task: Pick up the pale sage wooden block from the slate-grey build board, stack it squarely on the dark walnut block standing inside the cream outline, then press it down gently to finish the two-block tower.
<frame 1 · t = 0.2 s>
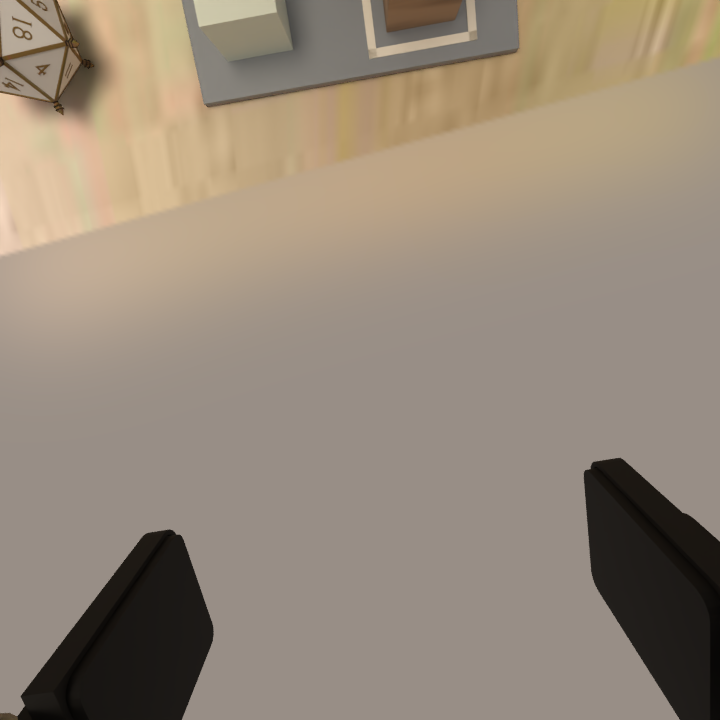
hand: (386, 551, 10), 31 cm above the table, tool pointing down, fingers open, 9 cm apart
sage block: (253, 17, 34), point 1 cm above the table, touching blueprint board
game die: (57, 61, 36), on the table
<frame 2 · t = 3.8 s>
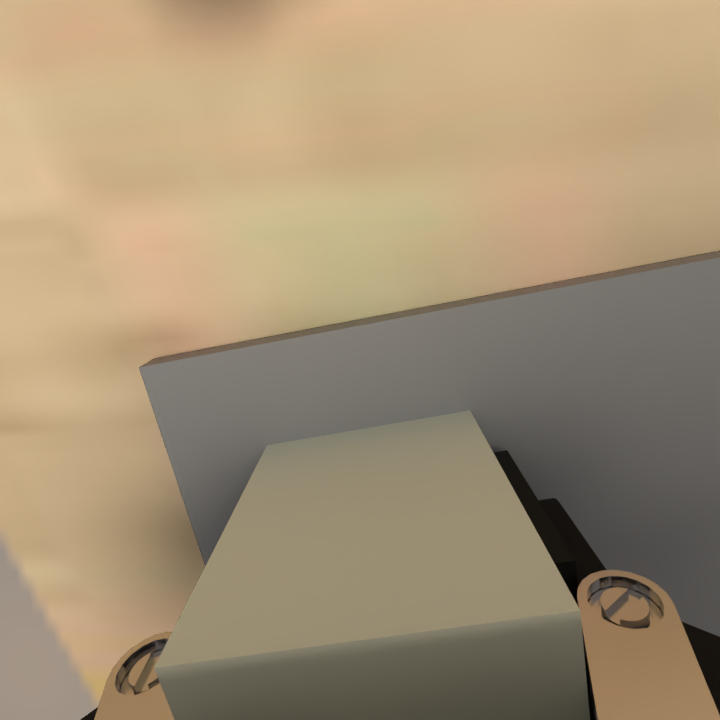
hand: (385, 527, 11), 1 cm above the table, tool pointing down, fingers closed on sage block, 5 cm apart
sage block: (385, 517, 12), point 1 cm above the table, touching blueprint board, gripper
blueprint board: (489, 687, 14), on the table
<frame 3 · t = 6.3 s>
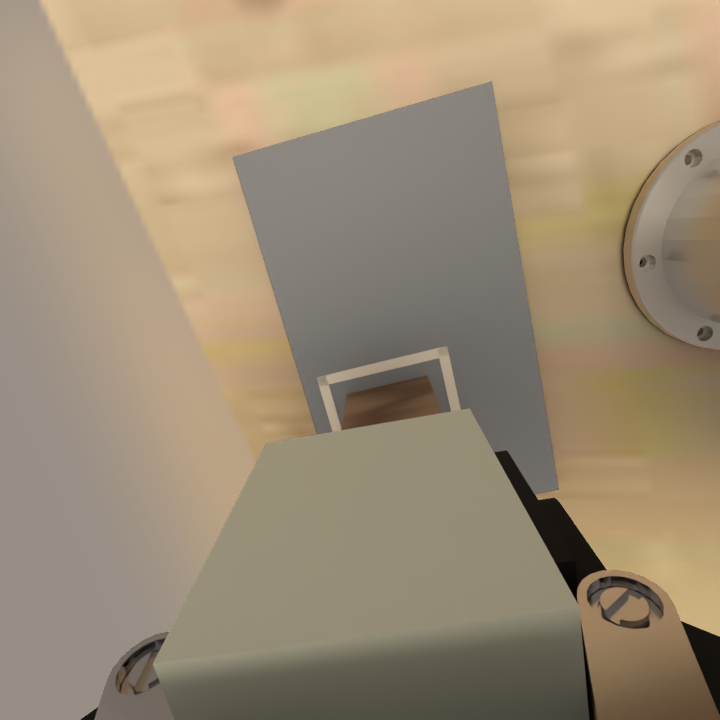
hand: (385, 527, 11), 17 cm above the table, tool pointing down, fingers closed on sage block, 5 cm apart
sage block: (384, 515, 12), point 17 cm above the table, touching gripper
walnut block: (396, 422, 28), point 1 cm above the table, touching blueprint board
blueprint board: (408, 334, 28), on the table
when the fingers open (8 cm above the table, at t = 8.7 s): sage block drops 1 cm, resting on walnut block.
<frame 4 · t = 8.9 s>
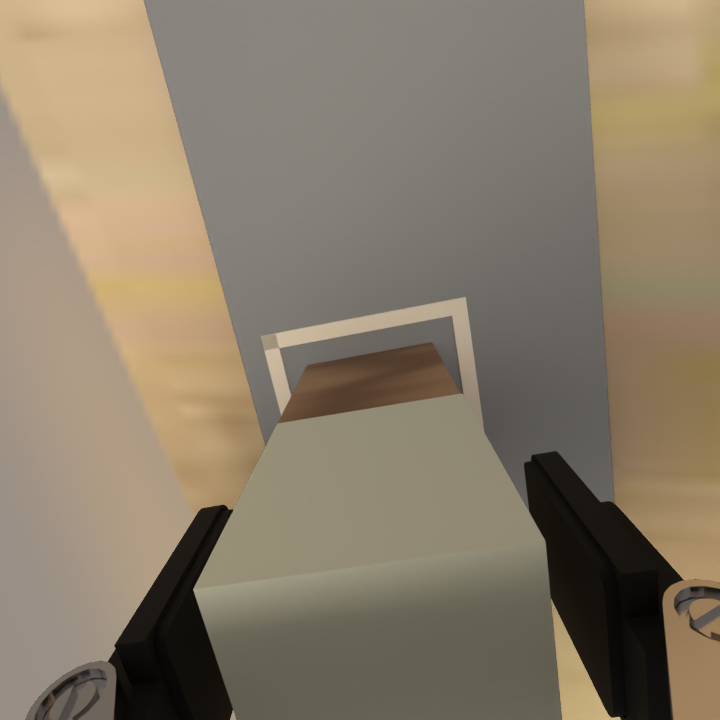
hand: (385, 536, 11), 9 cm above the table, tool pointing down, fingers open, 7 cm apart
sage block: (384, 491, 13), point 7 cm above the table, touching walnut block
walnut block: (380, 412, 19), point 1 cm above the table, touching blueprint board, sage block
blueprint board: (406, 278, 18), on the table
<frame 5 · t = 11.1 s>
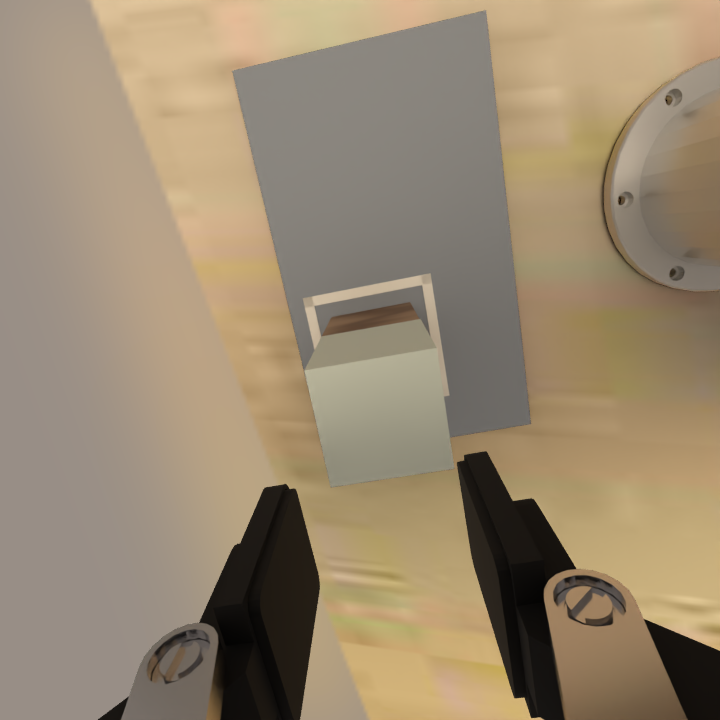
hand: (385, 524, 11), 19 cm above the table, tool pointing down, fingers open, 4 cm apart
sage block: (379, 374, 23), point 7 cm above the table, touching walnut block
walnut block: (377, 347, 29), point 1 cm above the table, touching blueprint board, sage block
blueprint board: (394, 262, 29), on the table
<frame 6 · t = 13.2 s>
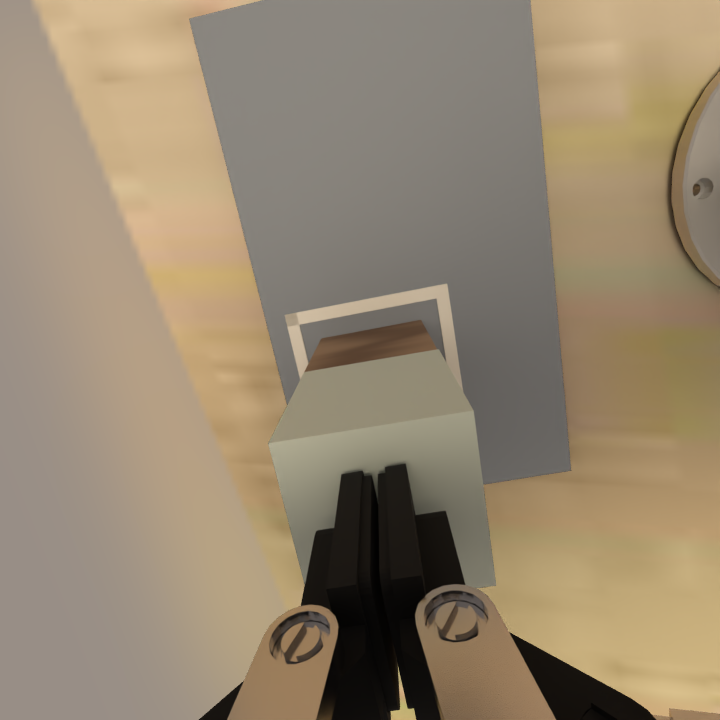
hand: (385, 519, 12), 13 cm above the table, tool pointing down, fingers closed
sage block: (382, 423, 17), point 7 cm above the table, touching gripper, walnut block
walnut block: (379, 376, 23), point 1 cm above the table, touching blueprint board, sage block
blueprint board: (401, 269, 23), on the table
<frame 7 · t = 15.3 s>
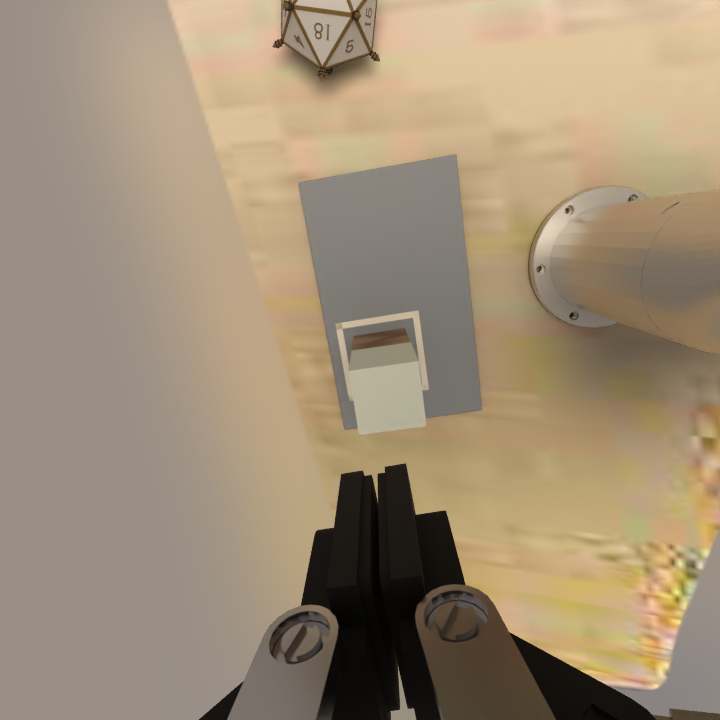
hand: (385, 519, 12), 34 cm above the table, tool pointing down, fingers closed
sage block: (385, 374, 39), point 7 cm above the table, touching walnut block
game die: (332, 35, 38), on the table
walnut block: (382, 357, 45), point 1 cm above the table, touching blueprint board, sage block
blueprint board: (395, 302, 44), on the table
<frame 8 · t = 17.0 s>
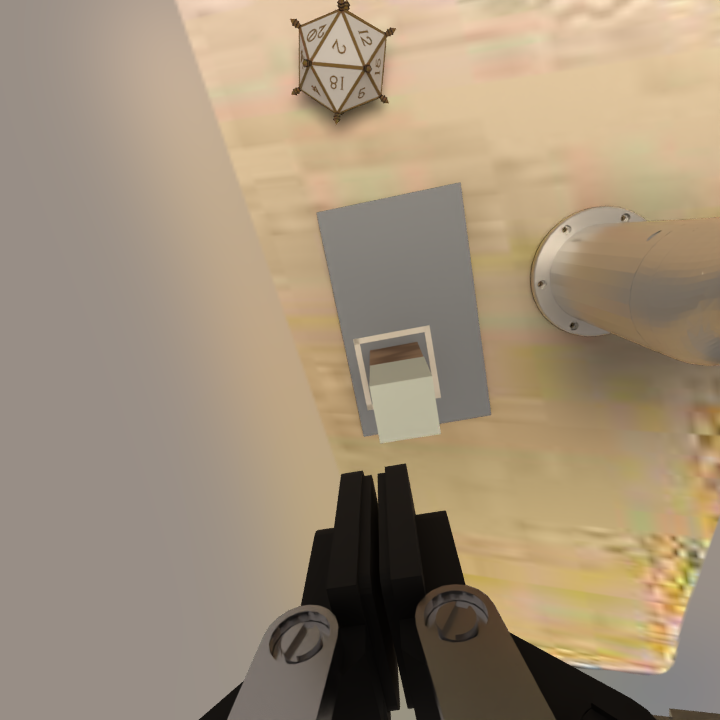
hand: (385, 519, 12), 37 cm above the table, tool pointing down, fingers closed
sage block: (401, 386, 42), point 7 cm above the table, touching walnut block
game die: (344, 79, 42), on the table
walnut block: (397, 368, 48), point 1 cm above the table, touching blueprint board, sage block
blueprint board: (407, 317, 48), on the table
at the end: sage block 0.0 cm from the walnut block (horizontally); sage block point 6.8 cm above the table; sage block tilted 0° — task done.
